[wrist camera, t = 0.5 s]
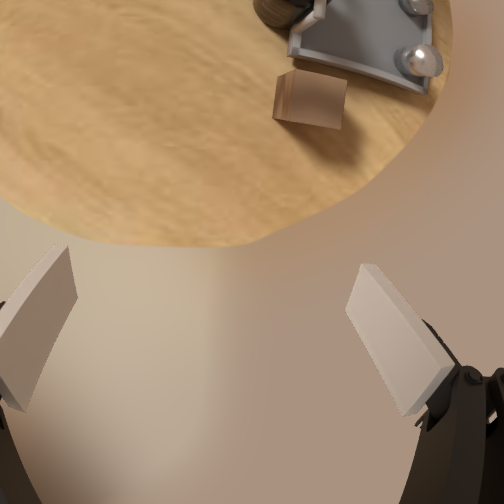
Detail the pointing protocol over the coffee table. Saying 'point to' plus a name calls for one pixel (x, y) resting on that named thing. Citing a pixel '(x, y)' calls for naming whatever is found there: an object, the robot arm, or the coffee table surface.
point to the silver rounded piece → (419, 61)
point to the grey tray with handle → (361, 38)
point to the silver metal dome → (416, 7)
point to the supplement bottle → (283, 11)
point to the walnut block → (310, 98)
